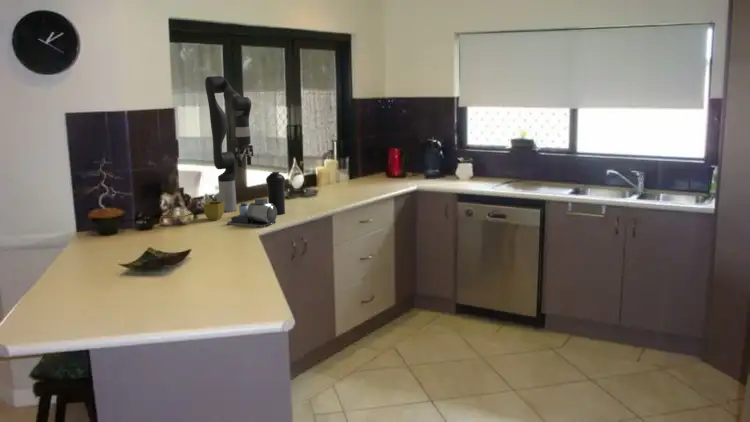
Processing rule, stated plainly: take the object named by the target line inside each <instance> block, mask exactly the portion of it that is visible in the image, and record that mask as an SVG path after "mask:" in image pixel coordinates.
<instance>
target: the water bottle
mask: <svg viewBox="0 0 750 422" xmlns="http://www.w3.org/2000/svg"><path fill="white" fill-rule="evenodd" d="M265 182H266V185H267V188H266V189H267V190H266V191H267V203H270V204H274V206H275V207H276V209H277V216H282V215H285V214H286V206H285V205H286V199H285V197H286V196H285V195H286V194H285V191H286V189H285V183H286V179H285V176H284V175H282V174H281V171H272V172H271V173H269V175H267V177H266V178H265Z"/></svg>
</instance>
